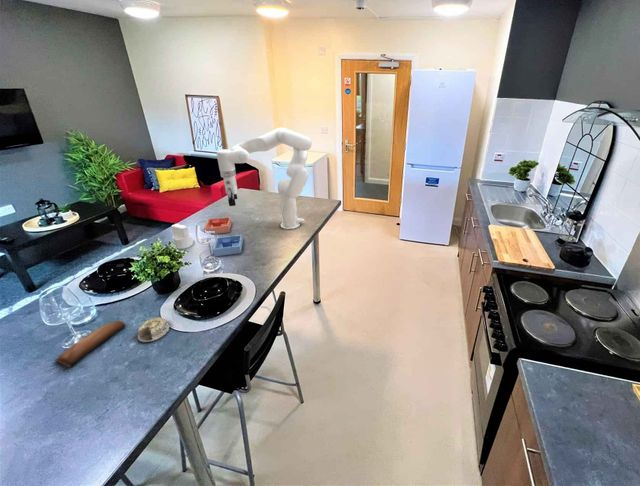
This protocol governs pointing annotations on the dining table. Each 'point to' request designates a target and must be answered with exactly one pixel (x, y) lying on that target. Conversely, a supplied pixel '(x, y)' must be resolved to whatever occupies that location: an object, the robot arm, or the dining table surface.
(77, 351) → the sunglasses case
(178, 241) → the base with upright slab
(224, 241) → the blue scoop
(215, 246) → the blue bin
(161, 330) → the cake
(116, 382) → the dining table surface
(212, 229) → the red bin
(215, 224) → the red scoop
